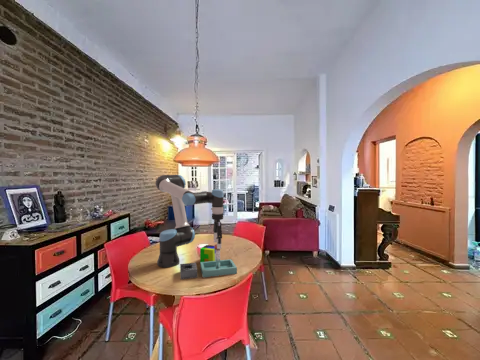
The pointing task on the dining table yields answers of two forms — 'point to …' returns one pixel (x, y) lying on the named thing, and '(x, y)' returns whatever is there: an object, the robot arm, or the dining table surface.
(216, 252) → the pin
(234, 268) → the tray
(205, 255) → the puzzle toy
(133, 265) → the dining table surface
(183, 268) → the block
